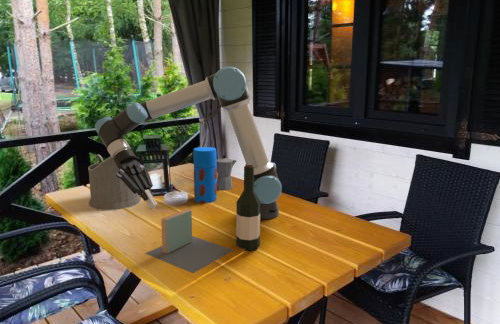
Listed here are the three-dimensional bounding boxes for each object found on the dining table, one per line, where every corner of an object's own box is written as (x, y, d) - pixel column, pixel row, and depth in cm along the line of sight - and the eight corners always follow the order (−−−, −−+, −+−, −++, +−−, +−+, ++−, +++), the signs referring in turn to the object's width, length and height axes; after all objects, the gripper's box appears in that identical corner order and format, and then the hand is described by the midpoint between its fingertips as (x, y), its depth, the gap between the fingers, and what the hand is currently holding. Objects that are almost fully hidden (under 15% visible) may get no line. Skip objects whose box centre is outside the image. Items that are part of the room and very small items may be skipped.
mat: (145, 255, 131) (145, 253, 131) (187, 236, 147) (187, 234, 147) (193, 275, 119) (193, 273, 118) (233, 252, 135) (233, 249, 134)
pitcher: (100, 214, 169) (96, 157, 163) (74, 196, 192) (70, 146, 186) (149, 202, 184) (147, 150, 179) (120, 188, 207) (117, 141, 201)
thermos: (212, 204, 183) (212, 151, 178) (191, 202, 185) (190, 150, 180) (219, 197, 194) (219, 147, 188) (198, 195, 196) (197, 146, 190)
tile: (162, 252, 132) (161, 218, 129) (187, 240, 141) (187, 209, 139) (167, 254, 130) (166, 220, 128) (192, 242, 140) (192, 210, 137)
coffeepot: (234, 184, 216) (234, 152, 212) (238, 189, 207) (238, 156, 203) (206, 186, 212) (206, 153, 208) (209, 191, 204) (208, 157, 200)
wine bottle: (246, 239, 145) (247, 160, 138) (264, 245, 140) (266, 164, 133) (231, 246, 139) (231, 164, 132) (249, 253, 133) (250, 168, 127)
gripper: (132, 157, 152) (163, 207, 146) (102, 163, 141) (134, 217, 136) (140, 145, 148) (172, 196, 142) (110, 150, 137) (143, 205, 131)
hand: (153, 206), depth 139 cm, fingers closed
